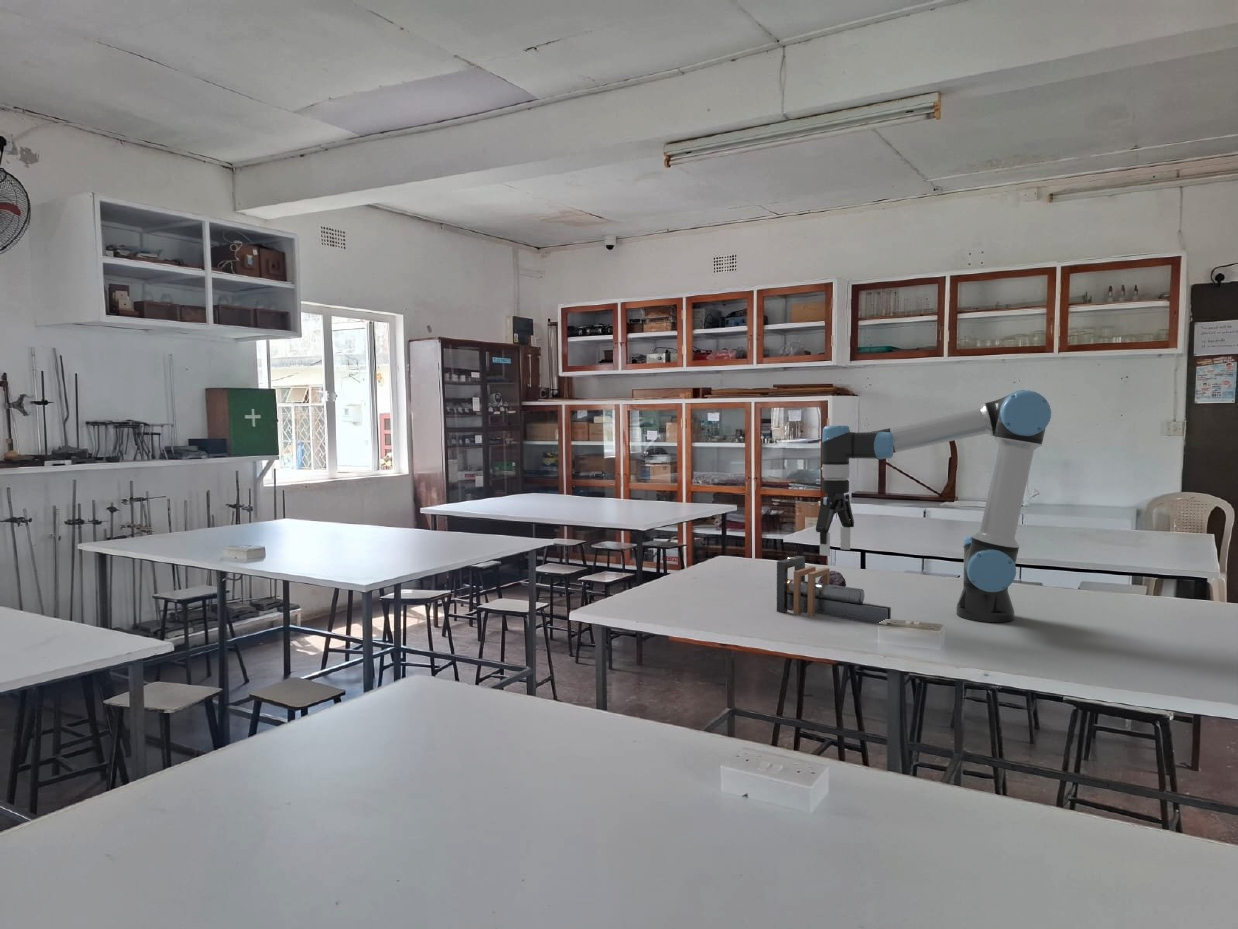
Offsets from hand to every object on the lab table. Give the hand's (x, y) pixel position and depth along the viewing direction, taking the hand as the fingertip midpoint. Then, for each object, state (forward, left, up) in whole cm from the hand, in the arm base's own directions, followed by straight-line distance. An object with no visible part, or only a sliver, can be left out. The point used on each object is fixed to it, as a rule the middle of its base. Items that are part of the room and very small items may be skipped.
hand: (835, 552), depth 229 cm
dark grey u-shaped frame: (+14, 0, -19) cm, 23 cm away
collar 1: (+10, 0, -19) cm, 21 cm away
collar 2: (+5, 0, -19) cm, 19 cm away
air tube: (+4, 0, -14) cm, 15 cm away
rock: (+10, -18, -19) cm, 28 cm away
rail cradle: (0, 0, -19) cm, 19 cm away
